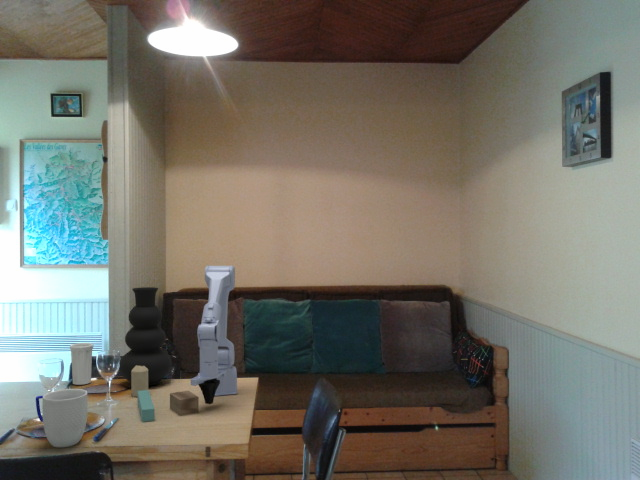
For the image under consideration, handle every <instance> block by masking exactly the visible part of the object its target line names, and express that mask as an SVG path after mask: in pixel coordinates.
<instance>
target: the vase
mask: <svg viewBox="0 0 640 480" xmlns="http://www.w3.org/2000/svg"><path fill="white" fill-rule="evenodd" d="M158 290H159V287H154V286H151V287H150V286H149V287H148V286H145V287H142V286H141V287H133V288H132V292H133V293H134V301H135V302H134V304H135V306H134V305H133V307H132V309H130V311H129V313H128V321H129V323H130V325H131V326H132V327H131V328H130V329H129V330H128V331H127V332H126V334H125V337H124V342H125V344H126V346H127V347H128V348H129V349H131V350H129V351H127V352H126V353H125V354H124V355H123V356H122V357H121V359H120V361H119V364H120V368H119V367H118V368H119V369H118V370H119V372H120V374H121V376H122V377H123V378H124V379H126V380H127V381H129V384H130V383H131V370H132V369H133V368H134V367H135V366H136V365H137V366H145V367H146V368H147V369H148V387H149V386H154V385H158V384H160V383H162V380H163V379H164V378H165V377H166V376H167V375H168V374H169V372H170V370H171V369H172V358H171V356H170V355H169V353H168V352H167V351H165V350H163V349H162V348H161V347H163V345H164V344H165V342H166V336H167V335H166V332H165V331H164V330H163V328H161V327H160V326H159V324H160V323H161V322H162V319H163V312H162V310H161V309H160V308H159V307H158V305H156V296H157V292H158Z"/></svg>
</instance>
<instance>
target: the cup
mask: <svg viewBox="0 0 640 480" xmlns="http://www.w3.org/2000/svg"><path fill="white" fill-rule="evenodd" d="M69 349H70V353H71V354H70V356H71V373H72V384H73V385H77V386H78V385H87V384H91V382H92V367H93V366H92V364H93V363H92V360H93V349H94V344H93V343H92V342H78V343H72V344H70V345H69Z"/></svg>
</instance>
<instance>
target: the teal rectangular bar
mask: <svg viewBox="0 0 640 480" xmlns="http://www.w3.org/2000/svg"><path fill="white" fill-rule="evenodd" d="M137 405H138V409H139V414H140V418H141V422H142V423H145V422H152V421H153V422H154V421H155V406H154V403H153V400H152V397H151V394H150V390H149V389H148V390H143V391H138V397H137Z"/></svg>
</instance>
